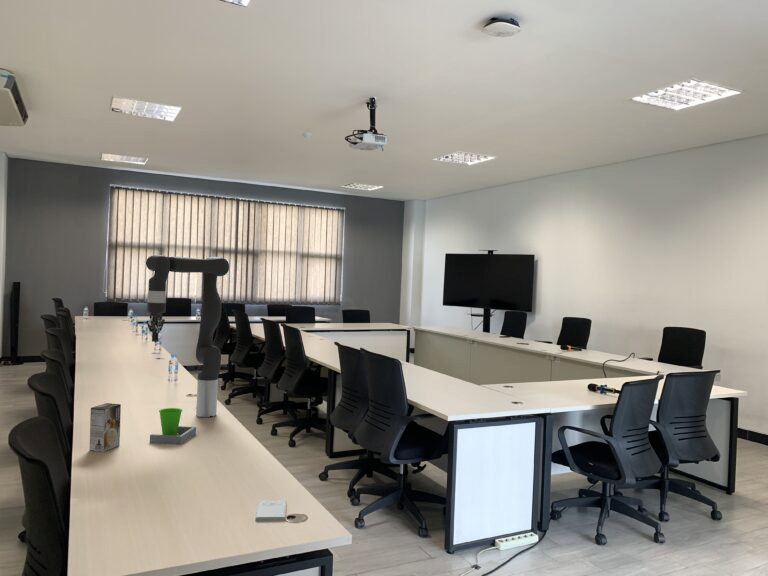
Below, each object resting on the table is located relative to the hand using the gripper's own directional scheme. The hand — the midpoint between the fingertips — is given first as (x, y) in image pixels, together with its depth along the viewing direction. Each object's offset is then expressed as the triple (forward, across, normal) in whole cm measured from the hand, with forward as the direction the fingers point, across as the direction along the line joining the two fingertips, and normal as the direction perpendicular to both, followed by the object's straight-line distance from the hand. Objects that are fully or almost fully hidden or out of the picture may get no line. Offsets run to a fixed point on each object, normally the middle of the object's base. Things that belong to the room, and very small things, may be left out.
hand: (155, 341), depth 250 cm
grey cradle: (+37, -15, -15) cm, 43 cm away
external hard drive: (+38, -81, -72) cm, 115 cm away
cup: (+37, -14, -14) cm, 42 cm away
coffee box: (+37, -33, +3) cm, 50 cm away
